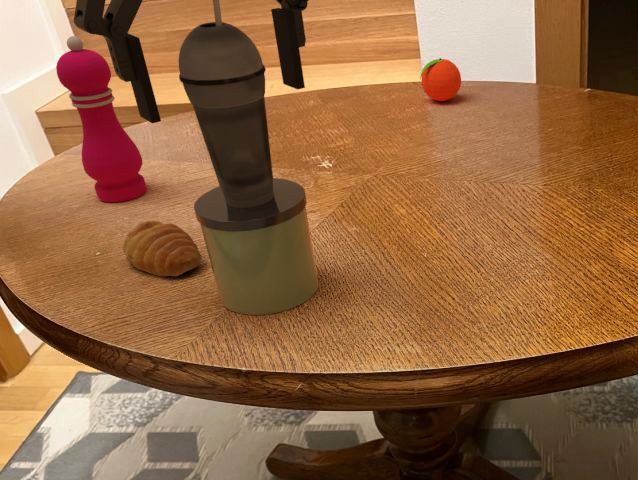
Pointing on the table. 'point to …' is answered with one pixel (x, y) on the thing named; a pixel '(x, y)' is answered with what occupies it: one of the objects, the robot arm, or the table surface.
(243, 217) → the jar
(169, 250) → the pastry
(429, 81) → the clementine
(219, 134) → the beverage cup
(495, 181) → the table surface
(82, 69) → the pepper mill
